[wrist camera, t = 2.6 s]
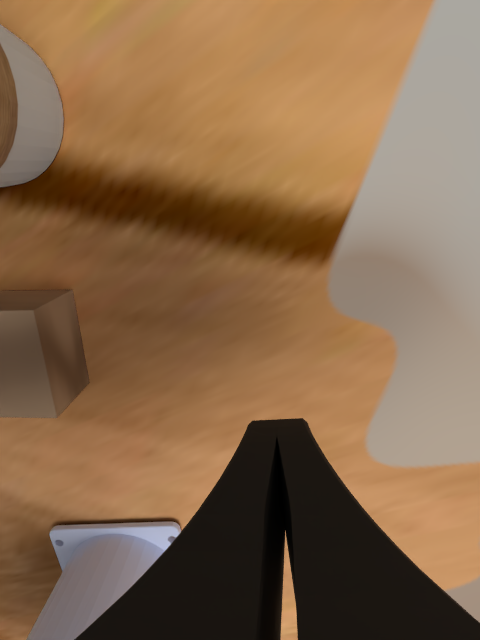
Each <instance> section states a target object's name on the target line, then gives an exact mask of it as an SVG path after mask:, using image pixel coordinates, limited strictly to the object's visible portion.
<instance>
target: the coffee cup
mask: <svg viewBox="0 0 480 640" xmlns="http://www.w3.org/2000/svg"><path fill="white" fill-rule="evenodd" d="M63 124H64V117H63V108H62V102H61V99H60V95H59V91H58V88H57V86H56V83H55V81H54V79H53V77H52V75H51V73H50V71H49V70H48V68H47V67H46V65H45V64H44V62H43V61H42V59H41V58H40V57H39V56H38V55H37V54H36V53H35V52H34V50H33V49H32V48H31V47H30V46H29V45H27V44H26V43H25V42H24V41H22V40H21V39H20V38H18V37H17V36H16V35H14V34H13V33H12V32H10V31H9V30H8V29H6V28H5V27H3V26H2V25H1V24H0V187H6V186H12V185H17V184H23V183H26V182H28V181H30V180H33V179H35V178H37V177H38V176H39V175H40V174H42V173H43V172H44V171H45V170H46V169H47V168H48V167H49V165H50V164H51V163H52V162H53V160H54V158H55V156H56V154H57V152H58V150H59V148H60V144H61V140H62V136H63Z"/></svg>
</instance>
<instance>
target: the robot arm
mask: <svg viewBox="0 0 480 640" xmlns="http://www.w3.org/2000/svg"><path fill="white" fill-rule="evenodd" d="M285 530H286V537H287V544H288V551H289V558H290V565H291V572H292V579H293V586H294V593H295V600H296V610H297V629H298V640H480V623H479V622H478V621H477V620H476V619H474V618H473V617H472V616H471V615H470V614H469V613H468V612H466V610H464V609H463V608H462V607H461V606H460V605H459V604H458V603H457V602H456V601H454V600H453V599H452V598H451V597H450V596H449V595H448V594H447V593H446V592H445V591H443V590H442V589H441V588H440V587H439V586H438V585H437V584H436V583H435V582H433V581H432V580H431V579H430V578H429V577H428V576H427V575H426V574H425V573H424V572H422V571H421V570H420V569H419V568H418V567H417V566H416V565H415V564H414V563H413V562H412V561H411V560H410V559H409V558H408V557H407V556H406V555H405V554H404V553H403V552H402V551H401V550H400V549H399V548H398V547H397V546H396V545H395V543H394V542H393V541H392V540H391V539H390V538H389V537H388V536H387V535H386V534H385V533H384V532H383V531H382V529H381V528H380V527H379V526H378V525H377V524H376V523H375V522H374V520H373V519H372V518H371V517H370V516H369V515H368V513H367V512H366V511H365V510H364V509H363V508H362V506H361V505H360V504H359V503H358V501H357V500H356V499H355V498H354V496H353V495H352V494H351V492H350V491H349V490H348V489H347V487H346V486H345V485H344V483H343V482H342V481H341V479H340V478H339V476H338V475H337V473H336V472H335V470H334V469H333V468H332V466H331V465H330V463H329V462H328V460H327V459H326V457H325V456H324V454H323V452H322V451H321V449H320V447H319V446H318V444H317V442H316V440H315V439H314V437H313V435H312V433H311V431H310V428H309V426H308V423H307V422H306V421H305V420H304V419H303V418H299V419H279V420H259V421H252V422H251V423H250V424H249V425H248V427H247V430H246V432H245V434H244V436H243V438H242V440H241V442H240V444H239V446H238V448H237V450H236V452H235V454H234V456H233V457H232V459H231V461H230V462H229V464H228V466H227V467H226V469H225V471H224V472H223V474H222V476H221V477H220V479H219V481H218V482H217V484H216V485H215V487H214V488H213V489H212V491H211V492H210V494H209V495H208V497H207V498H206V500H205V501H204V502H203V504H202V505H201V507H200V508H199V510H198V511H197V512H196V514H195V515H194V516H193V517H192V519H191V520H190V521H189V523H188V524H187V525H186V526H185V528H184V529H183V530H182V531H181V528H180V526H179V525H178V524H177V523H175V522H171V521H169V522H140V523H111V524H82V525H57V526H54V527H53V528H52V530H51V531H50V533H49V535H50V539H51V541H52V544H53V547H54V550H55V552H56V555H57V558H58V560H59V563H60V566H61V569H62V571H63V572H62V574H61V576H60V578H59V579H58V581H57V583H56V585H55V587H54V589H53V591H52V592H51V594H50V596H49V598H48V600H47V602H46V604H45V605H44V607H43V609H42V611H41V613H40V615H39V617H38V618H37V620H36V622H35V624H34V626H33V628H32V630H31V631H30V633H29V635H28V637H27V639H26V640H280V634H281V612H282V590H283V568H284V546H285ZM172 536H173V537H172Z"/></svg>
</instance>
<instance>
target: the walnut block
mask: <svg viewBox="0 0 480 640" xmlns="http://www.w3.org/2000/svg"><path fill="white" fill-rule="evenodd" d="M89 383H90V382H89V377H88V371H87V366H86V360H85V355H84V349H83V344H82V338H81V333H80V327H79V322H78V316H77V311H76V305H75V300H74V294H73V290H12V291H0V417H22V418H58V416H59V415H60V414H61V413H62V412H63V411H64V410H65V409H66V408H67V407H68V406H69V404H70V403H71V402H72V401H73V400H74V399H75V398H76V397H77V396H78V395H79V394H80V392H81V391H82V390H83V389H84V388H85V387H86V386H87V385H88V384H89Z"/></svg>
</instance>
